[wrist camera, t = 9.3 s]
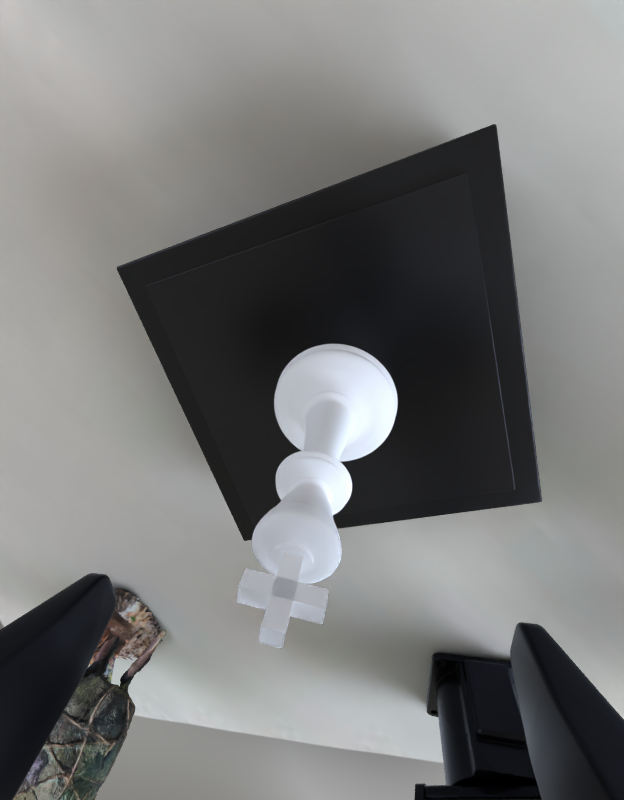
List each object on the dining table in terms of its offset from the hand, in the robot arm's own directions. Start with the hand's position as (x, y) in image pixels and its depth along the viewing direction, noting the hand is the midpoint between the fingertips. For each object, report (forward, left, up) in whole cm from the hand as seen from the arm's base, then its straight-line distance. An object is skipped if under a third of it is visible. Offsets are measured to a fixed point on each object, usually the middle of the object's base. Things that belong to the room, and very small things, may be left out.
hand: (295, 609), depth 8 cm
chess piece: (+1, 0, -9) cm, 9 cm away
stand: (+2, 0, -13) cm, 13 cm away
